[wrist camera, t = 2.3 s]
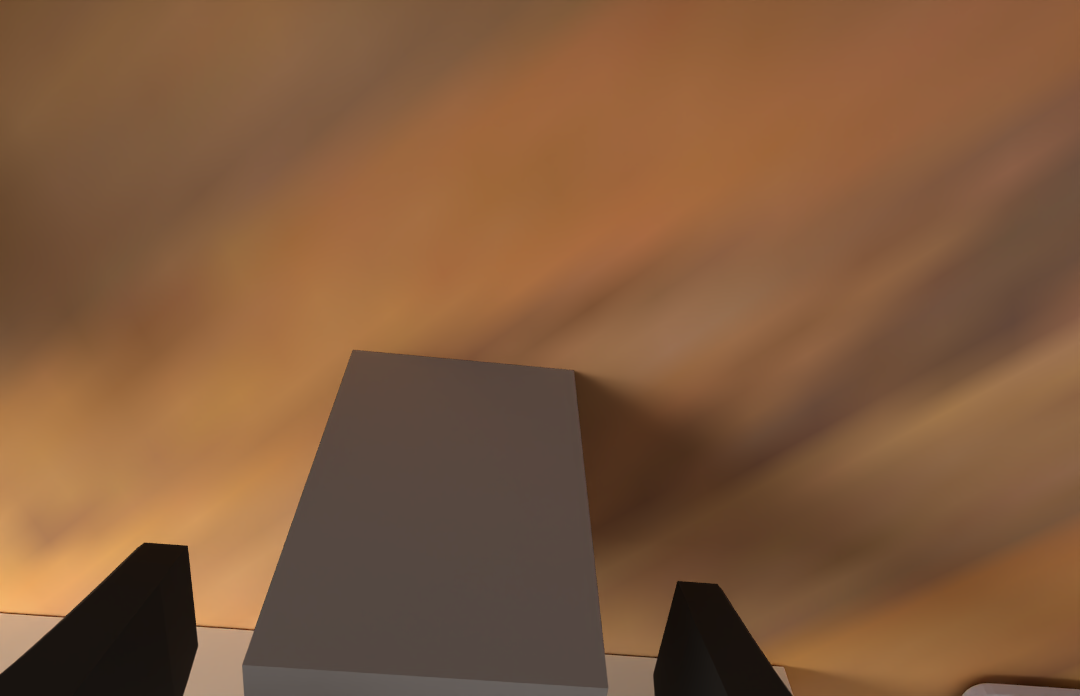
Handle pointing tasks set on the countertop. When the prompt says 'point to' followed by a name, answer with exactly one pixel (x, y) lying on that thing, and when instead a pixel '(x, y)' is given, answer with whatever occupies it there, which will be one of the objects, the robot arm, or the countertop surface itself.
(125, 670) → the robot arm
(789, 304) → the countertop surface
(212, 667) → the box
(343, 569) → the grey rectangular block
